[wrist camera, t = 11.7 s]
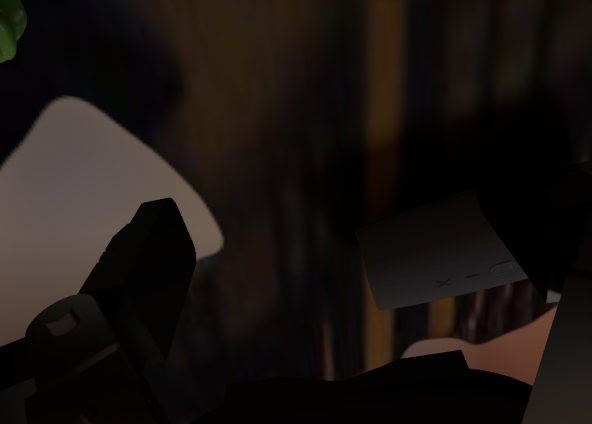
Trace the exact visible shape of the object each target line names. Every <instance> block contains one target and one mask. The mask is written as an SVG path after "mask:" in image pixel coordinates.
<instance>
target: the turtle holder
mask: <svg viewBox="0 0 592 424" xmlns="http://www.w3.org/2000/svg"><path fill="white" fill-rule="evenodd" d="M26 23H27V16H26V12H25V9H24V6H23V4H22V2H21V0H0V63H2V62H4V61H6V60H10V59H12V58H14V56H15V54H16V41H17V40H18V39H19V38H20V37H21V35H22V33H23V32H24V29H25V27H26Z"/></svg>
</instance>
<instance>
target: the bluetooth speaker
mask: <svg viewBox="0 0 592 424" xmlns="http://www.w3.org/2000/svg"><path fill="white" fill-rule="evenodd" d="M577 165H578V166H579V167H581V168H582V169H583V171H584V172H587V173H589V174H590V175H591V176H592V161H589V162H583V163H577ZM355 234H356V238H357V241H358V243H359V245H360V247H361V251H362V254H363V258H364V262H365V266H366V273H367V278H368V282H369V285H370V288H371V291H372V294H373V297H374V300H375V303H376V305H377V308H378V309H379V310H381V309H390V308H399V307H405V306H410V305H415V304H420V303H425V302H430V301H434V300H439V299H444V298H449V297H453V296H457V295H462V294H466V293H470V292H475V291H479V290H483V289H488V288H492V287H496V286H500V285H504V284H507V283H511V282H515V281H519V280H523V279H526V278H528V277H527V275H526V274H525V273H524V271H523V270H522V268H521V267H520V266H519V264H518V263H517V261H516V260H515V259H514V257H513V256H512V254H511V253H510V252H509V250H508V249H507V248H506V246H505V245H504V243H503V242H502V241H501V239H500V238H499V236H498V235H497V234H496V232H495V231H494V229H493V228H492V227H491V225H490V224H489V222H488V221H487V220H486V218H485V217H484V216H483V214H482V212H481V210H480V208H479V205H478V201H477V195H476V188H475V189H471V190H467V191H464V192H460V193H458V194H454V195H450V196H448V197H446V198H443V199H441V200H438V201H435V202H432V203H429V204H426V205H422V206H419V207H416V208H413V209H410V210H408V211H405V212H402V213H399V214H396V215H393V216H390V217H387V218H385V219H382V220H379V221H376V222H374V223H371V224H369V225H367V226H364V227H362V228H360V229H357V230H355Z"/></svg>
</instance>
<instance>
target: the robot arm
mask: <svg viewBox="0 0 592 424" xmlns="http://www.w3.org/2000/svg"><path fill="white" fill-rule="evenodd" d="M476 195H477V201H478V205H479V208H480V210H481V212H482V214H483V216H484V217H485V218H486V220H487V221H488V222H489V224H490V225H491V227H492V228H493V229H494V231H495V232H496V234H497V235H498V236H499V238H500V239H501V241H502V242H503V243H504V245H505V246H506V248H507V249H508V250H509V252H510V253H511V254H512V256H513V257H514V259H515V260H516V261H517V263H518V264H519V266H520V267H521V268H522V270H523V271H524V273H525V274H526V275H527V277H528V278H529V280H530V281H531V282H532V284H533V285H534V287H535V288H536V289H537V291H538V292H539V293H540V295H541V296H542V298H543V299H544V300H545V302H546V303H550V302H556V301H559V303H558V307H557V310H556V313H555V316H554V320H553V323H552V326H551V329H550V333H549V336H548V339H547V342H546V346H545V349H544V352H543V356H542V359H541V362H540V365H539V369H538V372H537V375H536V378H535V382H534V385H533V386H531V385H529V384H527V383H525V382H522V381H519V380H517V379H514V378H512V377H508V376H505V375H501V374H498V373H494V372H489V371H483V370H477V369H469V367H468V365H467V363H466V360H465V358H464V355H463V353H462V351H461V350H457V351H450V352H443V353H436V354H430V355H423V356H416V357H410V358H403V359H399V360H396V361H394V362H391V363H389V364H386V365H384V366H381V367H379V368H376V369H373V370H371V371H368V372H366V373H363V374H361V375H358V376H356V377H353V378H350V379H348V380H345V381H327V380H315V379H304V378H293V377H275V378H268V379H261V380H255V381H248V382H241V383H234V384H228V385H226V391H225V398H224V404H223V405H221V406H219V407H217V408H215V409H213V410H211V411H209V412H207V413H205V414H204V415H202V416H201V417H199V418H198V419H196V420H195V421H193V422H192V423H190V424H592V176H591V175H590V174H589V173H587V172H584V171H583V169H582V168H581V167H579V166H578V165H577V164H575V163H572V161H571V160H570V159H569V158H567V157H566V156H565V155H564V154H562V153H561V152H560V151H558V150H555V149H552V148H549V147H546V146H543V145H540V144H535V145H532V144H530V143H529V142H528V141H527V140H526V139H524V138H523V137H522V136H521V135H519V134H518V133H517V132H516V131H514V130H513V129H510V130H505V131H500V132H495V133H490V134H485V135H480V136H479V137H478V139H477V145H476ZM195 265H196V252H195V247H194V244H193V241H192V239H191V237H190V234H189V232H188V230H187V227H186V225H185V223H184V221H183V218H182V216H181V214H180V211H179V209H178V207H177V205H176V203H175V201H174V200H173V199H172V198H164V199H160V200H155V201H149V202H144V203H142V204H141V205H140V207H139V209H138V210H137V212H136V214H135V216H134V217H133V219H132V220H131V222H130V223H129V224H127V225H126V226H125V227H123V228H122V229H121V230H120V231H119V232H118V233H117V234H116V235H114V236H113V238H112V240H111V241H110V243H109V244H108V246H107V248H106V252H103V254H102V256H101V257H100V259H99V262H98V263H97V264H96V265H95V267H94V268H93V270H92V272H91V273H90V275H89V276H88V278H87V279H86V281H85V283H84V285H83V286H82V288H81V289H80V291H79V293H78V294H77V295H72V296H69V297H66V298H63V299H61V300H59V301H57V302H55V303H54V304H52V305H50V306H49V307H47V308H46V309H44V310H43V311H42V312H41V313H39V315H37V316H36V317H35V318H34V320H33V321H32V322H31V323H30V325H29V326H28V328H27V330H26V333H25V337H24V338H22V339H19V340H17V341H14V342H11V343H9V344H6V345H4V346H1V347H0V424H171V423H170V421H169V419H168V417H167V416H166V414H165V412H164V410H163V408H162V407H161V405H160V403H159V401H158V399H157V398H156V396H155V394H154V392H153V390H152V389H151V387H150V385H149V383H148V381H147V380H146V378H145V377H144V375H143V372H144V369H145V366H146V364H153V363H159V362H165V361H166V360H167V357H168V354H169V350H170V347H171V344H172V341H173V337H174V334H175V331H176V328H177V324H178V321H179V318H180V315H181V311H182V308H183V305H184V302H185V298H186V295H187V292H188V288H189V285H190V282H191V279H192V275H193V272H194V269H195Z"/></svg>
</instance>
